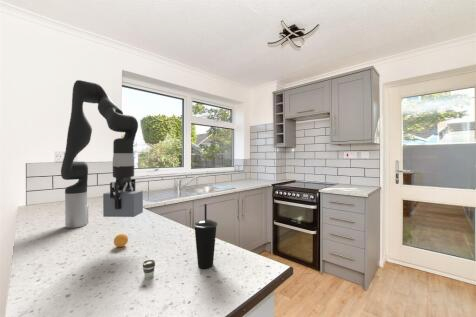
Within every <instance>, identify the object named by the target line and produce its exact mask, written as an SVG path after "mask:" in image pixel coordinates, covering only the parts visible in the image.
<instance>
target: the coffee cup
mask: <svg viewBox="0 0 476 317" xmlns="http://www.w3.org/2000/svg"><path fill="white" fill-rule="evenodd" d="M155 266H156V262H155V259H148V260H147V259H146V260H145V261H143V263H142V271H143V276H144V279H145V280H149V279H153V278H154V275H155Z"/></svg>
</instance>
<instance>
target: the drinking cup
mask: <svg viewBox="0 0 476 317" xmlns="http://www.w3.org/2000/svg"><path fill="white" fill-rule="evenodd" d="M207 207H208V206H207V203H205V204H204V209H203V210H204V211H203V212H204V213H203V214H204V218H203V219H201V220H198V221H196V222H194V223H193V228H194V234H195V248H196V257H197V260H196V261H197V267H198V268H199V269H200V270H209V269H211V268H212V267H214V259H215V246H216V236H217V234H216V233H217V226H218V222H217V221H214V220H212V219H208V218H207V215H208V214H207V210H208V209H207Z"/></svg>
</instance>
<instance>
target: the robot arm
mask: <svg viewBox="0 0 476 317" xmlns="http://www.w3.org/2000/svg"><path fill="white" fill-rule="evenodd" d="M84 103H88V104H97V110H98V113H99V114H100V115H101V116H102V117H103V118H104V119H105V120H106V124H107V126H108V128H109V130H111V131H113V132H117V133H124V135H123V137H118V138H115V139H114V140H113V145H112V146H113V148H112V154H113V156H112V177H113V178H114V179H115V181H114V182H113V181H112V182H110V183H109V192H110V198H112V199H114V200H115V209H121V197H122V194H123V193H124V192H125V191H136V178H133V177H135V156H134V143H135V139H136V135H137V131H138V128H139V122H138V119H137V118H136V117H135V116H133V115H128V114H124V112H123V110H122V109H121V108H120V107H119V106H118V105H117V104H116V103H115V102H113V101H112V99H111V97H109V95H108V94H107V92H106V91H105V89H104V88H103V87H102V86H101V85H100V84H98V83H94V82H90V81H86V80H81V79H77V80H75V82H74V83H73V86H72V94H71V113H70V119H69V122H68V123H69V124H68V128H67V135H66V145H65V152H64V156H63V160H62V164H61V168H60V177H61V179H63V180H64V181H70V180H77V182H75V183H74V184H72V185H69V186H66V187H65V189H64V211H65V212H64V215H65V216H64V220H65V221H64V222H65V223H64V225H65V226H64V227H65V228H67V229H74V228H75V229H76V228H81V227H83V226H87V225H88V224H89V205H88V181H89V180H88V177H89V176H88V175H89V166H88V163H87V162H86V161H74V160H75V159H76V157H77V156H78V154H80V153H81V152H82V151H83V150H84V149H85V148H86V147H87V146H88V145H89V143H90V142H91V138H92V133H93V128H92V125H91V124H90V122H89V120H88V118H87V117H86V115H85V112H84V108H83V107H84ZM113 192H114V193H115V194H114V195H113ZM119 193H120V194H119Z"/></svg>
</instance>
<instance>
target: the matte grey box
mask: <svg viewBox="0 0 476 317" xmlns="http://www.w3.org/2000/svg"><path fill="white" fill-rule="evenodd" d="M114 194H115V193H114V192H113V195H114ZM119 194H120V193H119ZM143 195H144V191H143V190H135V191H125V192H124V193H123V194H122V197H121V209H115V200H114V199H112V198H110V191H108V192H105V193H104V192H103V193H102V199H103V200H102V203H103V204H102V205H103V206H102V211H103V212H102V213H103V214H102V215H103V218H113V217H114V218H135V217H137V216H138V215H140V214H143V213H144V212H143V211H144V209H143V208H144V205H143V204H144V202H143V200H144V196H143Z"/></svg>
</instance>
